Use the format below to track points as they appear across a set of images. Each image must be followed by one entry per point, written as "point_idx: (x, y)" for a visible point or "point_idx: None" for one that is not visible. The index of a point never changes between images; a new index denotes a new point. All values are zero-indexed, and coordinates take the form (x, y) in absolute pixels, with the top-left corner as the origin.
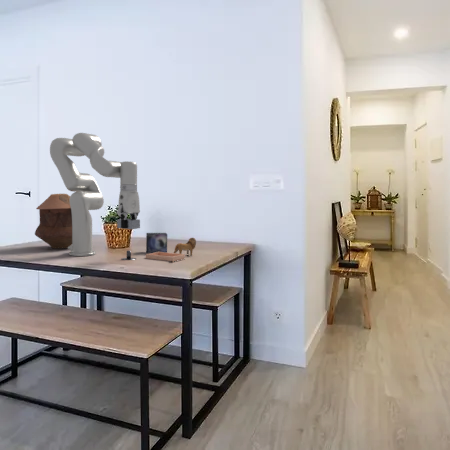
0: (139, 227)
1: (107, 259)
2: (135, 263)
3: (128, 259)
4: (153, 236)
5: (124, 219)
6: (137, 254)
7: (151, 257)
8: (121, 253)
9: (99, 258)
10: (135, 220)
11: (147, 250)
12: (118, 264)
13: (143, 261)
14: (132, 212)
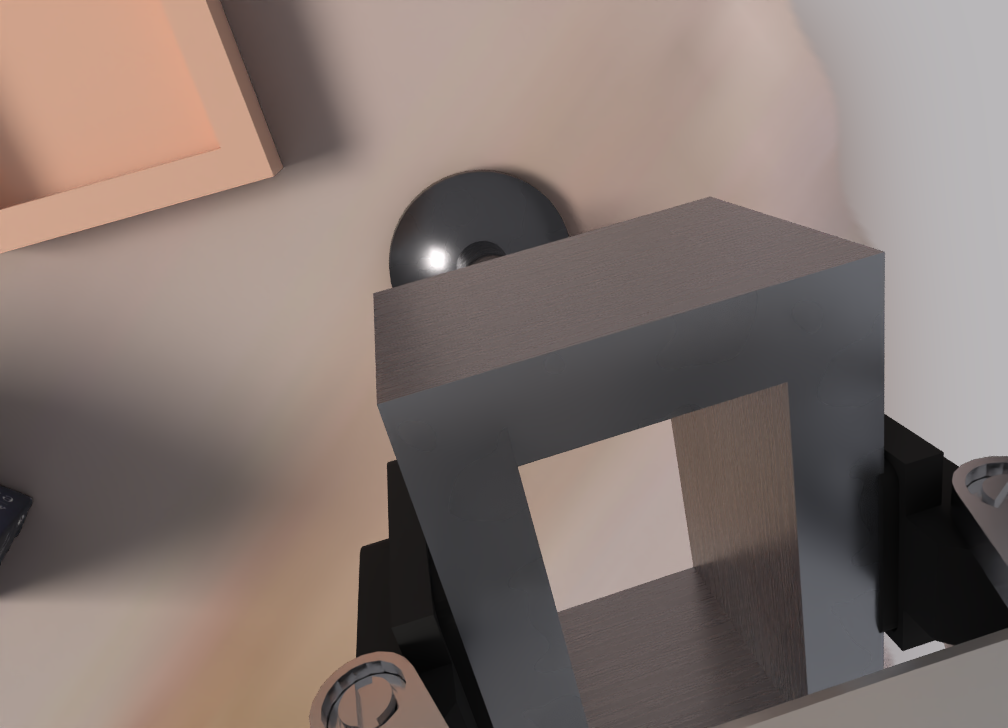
0: (394, 294)
1: (610, 442)
2: (561, 7)
3: (511, 233)
4: None
5: (1004, 476)
6: (164, 532)
7: (237, 62)
8: (285, 664)
9: (625, 529)
10: (665, 310)
11: (8, 522)
12: (733, 103)
13: (394, 57)
14: (946, 668)
